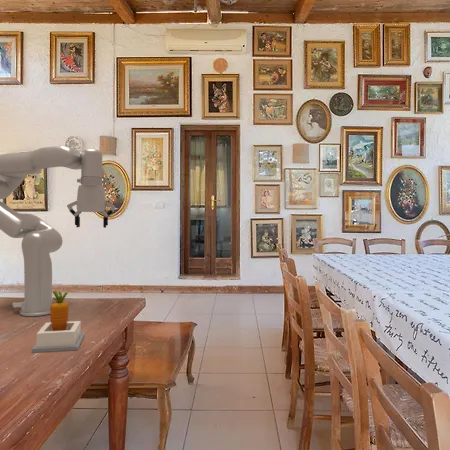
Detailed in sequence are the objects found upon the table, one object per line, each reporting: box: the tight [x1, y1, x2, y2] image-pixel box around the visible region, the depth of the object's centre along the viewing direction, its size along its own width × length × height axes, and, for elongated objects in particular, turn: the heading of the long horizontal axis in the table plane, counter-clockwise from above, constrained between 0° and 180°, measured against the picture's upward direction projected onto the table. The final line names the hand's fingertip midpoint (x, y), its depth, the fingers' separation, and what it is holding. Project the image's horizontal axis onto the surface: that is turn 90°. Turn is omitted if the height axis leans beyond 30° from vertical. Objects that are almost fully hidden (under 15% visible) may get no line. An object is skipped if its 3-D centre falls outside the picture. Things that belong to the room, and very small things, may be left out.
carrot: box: [49, 289, 69, 331], centre depth 107 cm, size 5×5×15 cm
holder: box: [31, 320, 85, 354], centre depth 107 cm, size 12×12×5 cm
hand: (91, 227), depth 137 cm, fingers open, 9 cm apart
